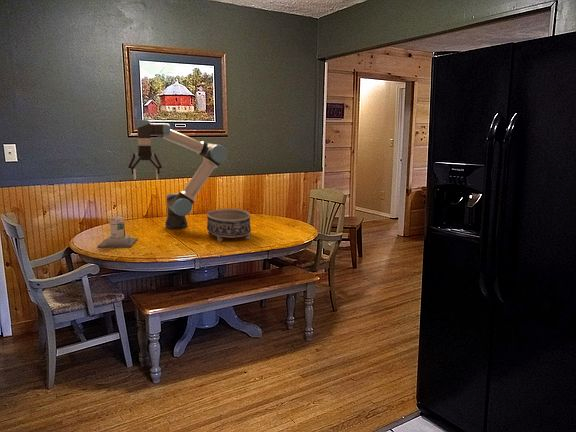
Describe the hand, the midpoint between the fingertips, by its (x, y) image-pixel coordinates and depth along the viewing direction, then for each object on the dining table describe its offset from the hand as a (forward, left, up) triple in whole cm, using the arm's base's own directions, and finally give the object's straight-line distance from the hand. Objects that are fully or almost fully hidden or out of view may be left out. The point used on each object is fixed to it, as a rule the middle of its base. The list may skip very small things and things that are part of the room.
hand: (146, 179), depth 278 cm
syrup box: (+12, +26, -34) cm, 44 cm away
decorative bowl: (-51, +10, -35) cm, 63 cm away
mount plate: (+12, +26, -35) cm, 45 cm away
